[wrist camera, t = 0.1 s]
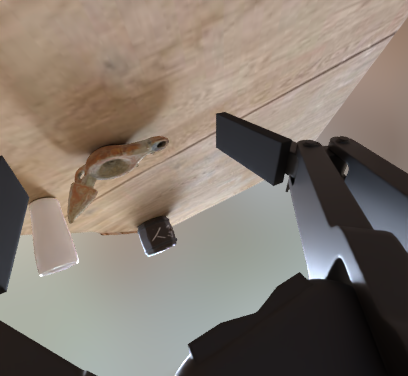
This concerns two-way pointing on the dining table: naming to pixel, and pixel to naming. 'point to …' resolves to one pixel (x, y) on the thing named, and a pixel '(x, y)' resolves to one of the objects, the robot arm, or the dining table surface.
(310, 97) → the dining table surface
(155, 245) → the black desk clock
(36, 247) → the drinking glass
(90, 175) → the oil lamp
